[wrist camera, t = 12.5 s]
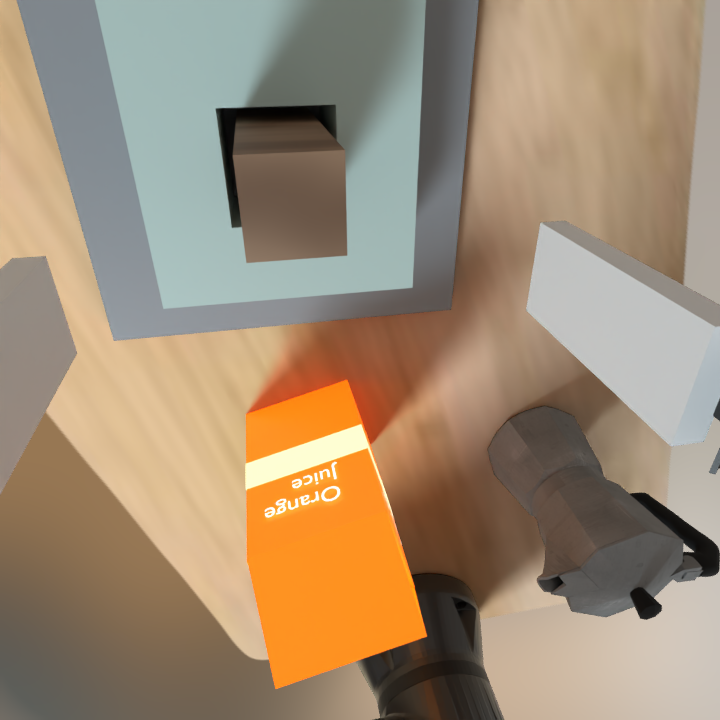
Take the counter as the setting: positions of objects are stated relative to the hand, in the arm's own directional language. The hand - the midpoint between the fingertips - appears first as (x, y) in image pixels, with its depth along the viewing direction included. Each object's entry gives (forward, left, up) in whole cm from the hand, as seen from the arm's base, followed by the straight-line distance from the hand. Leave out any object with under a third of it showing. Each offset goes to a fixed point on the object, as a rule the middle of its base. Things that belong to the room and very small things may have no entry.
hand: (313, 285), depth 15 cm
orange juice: (-23, -1, -22) cm, 32 cm away
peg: (0, 0, -21) cm, 21 cm away
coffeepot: (-28, -23, -22) cm, 42 cm away
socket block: (0, 0, -22) cm, 22 cm away
